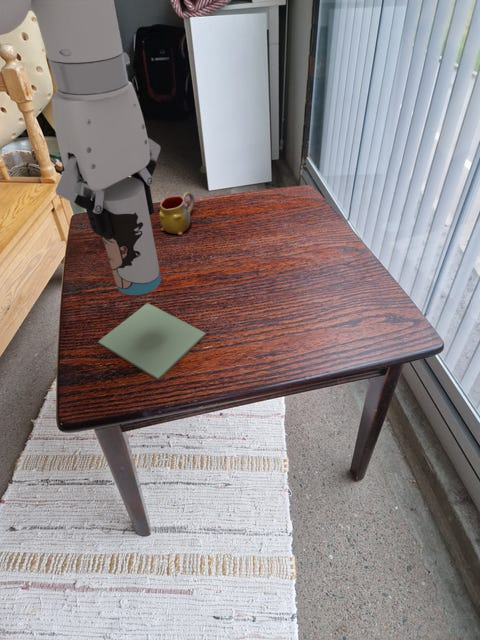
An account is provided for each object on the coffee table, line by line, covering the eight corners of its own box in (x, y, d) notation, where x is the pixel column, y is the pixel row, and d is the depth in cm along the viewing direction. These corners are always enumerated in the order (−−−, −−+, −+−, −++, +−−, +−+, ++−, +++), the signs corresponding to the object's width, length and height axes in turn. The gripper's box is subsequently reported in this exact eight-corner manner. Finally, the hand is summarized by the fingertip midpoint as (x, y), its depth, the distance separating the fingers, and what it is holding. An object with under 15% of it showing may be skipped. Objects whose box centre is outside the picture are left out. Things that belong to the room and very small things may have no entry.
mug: (179, 238, 95) (176, 212, 91) (155, 231, 98) (150, 205, 93) (207, 214, 103) (205, 188, 98) (184, 208, 105) (181, 182, 101)
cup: (136, 262, 67) (115, 172, 57) (170, 275, 65) (154, 183, 54) (106, 286, 63) (78, 193, 52) (142, 300, 60) (119, 206, 50)
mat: (158, 380, 66) (158, 378, 66) (98, 343, 72) (97, 341, 72) (206, 335, 73) (205, 332, 73) (147, 305, 79) (147, 302, 79)
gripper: (126, 53, 51) (150, 190, 63) (-5, 90, 41) (54, 244, 53) (172, 61, 48) (188, 204, 60) (43, 103, 38) (94, 264, 50)
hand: (125, 222), depth 57 cm, fingers closed on cup, 6 cm apart
